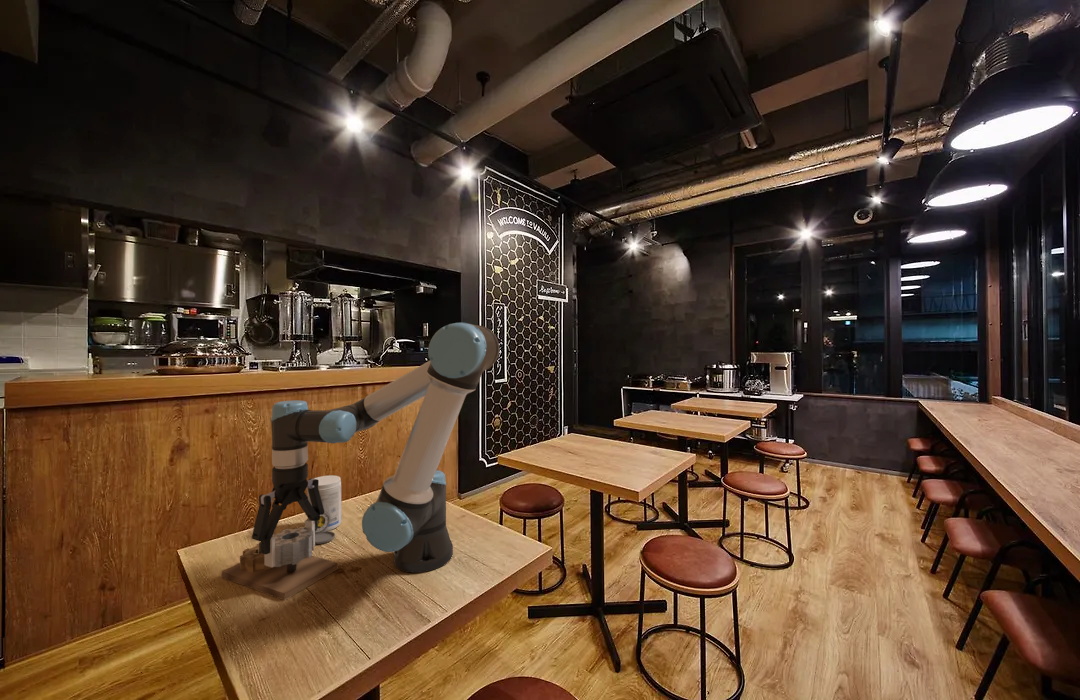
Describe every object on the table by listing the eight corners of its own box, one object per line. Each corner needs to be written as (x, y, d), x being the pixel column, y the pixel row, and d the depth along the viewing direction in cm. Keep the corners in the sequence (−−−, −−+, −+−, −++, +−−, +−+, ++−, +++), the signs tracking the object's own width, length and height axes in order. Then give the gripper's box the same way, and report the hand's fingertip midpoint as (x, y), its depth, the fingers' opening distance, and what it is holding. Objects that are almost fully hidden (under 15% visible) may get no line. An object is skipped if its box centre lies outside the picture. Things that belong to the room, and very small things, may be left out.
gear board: (338, 568, 105) (337, 543, 105) (284, 600, 92) (284, 571, 92) (277, 551, 114) (277, 527, 114) (221, 577, 101) (221, 551, 101)
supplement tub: (314, 521, 133) (313, 475, 133) (345, 518, 135) (345, 474, 135) (302, 534, 124) (301, 485, 124) (336, 532, 125) (335, 484, 125)
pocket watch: (324, 546, 117) (323, 511, 116) (298, 543, 118) (297, 509, 118) (343, 533, 125) (343, 500, 124) (319, 531, 126) (318, 498, 126)
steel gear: (321, 551, 104) (321, 531, 104) (284, 570, 95) (284, 548, 95) (295, 543, 108) (295, 524, 108) (258, 561, 99) (257, 540, 99)
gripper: (319, 451, 113) (320, 533, 113) (231, 475, 92) (232, 575, 93) (339, 454, 110) (340, 538, 110) (252, 480, 89) (253, 582, 90)
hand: (290, 555), depth 101 cm, fingers closed on steel gear, 10 cm apart
